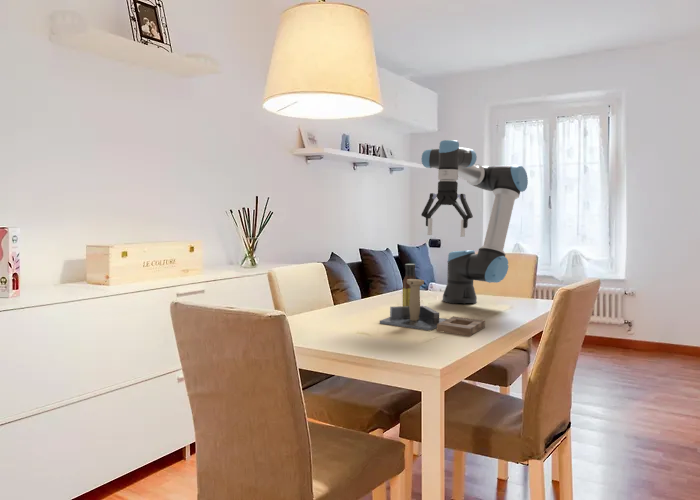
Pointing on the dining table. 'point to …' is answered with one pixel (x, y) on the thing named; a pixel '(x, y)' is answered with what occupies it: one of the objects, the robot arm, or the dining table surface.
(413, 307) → the handle
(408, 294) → the sauce bottle
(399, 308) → the v cradle
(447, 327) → the walnut collar
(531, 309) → the dining table surface
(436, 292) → the dining table surface
